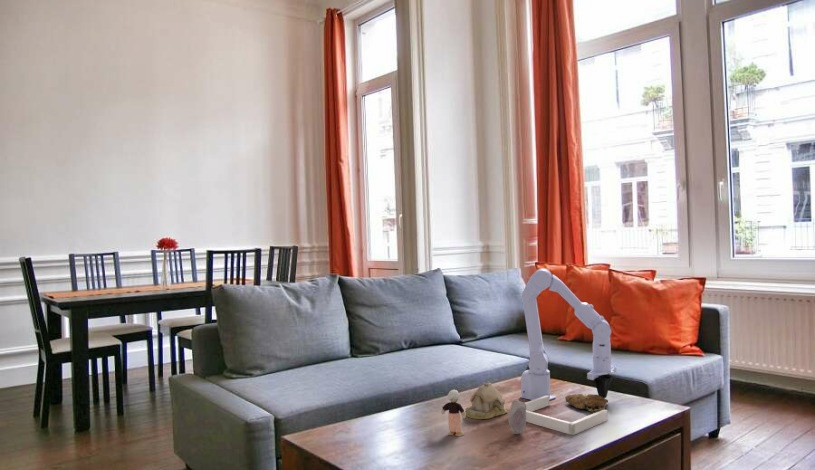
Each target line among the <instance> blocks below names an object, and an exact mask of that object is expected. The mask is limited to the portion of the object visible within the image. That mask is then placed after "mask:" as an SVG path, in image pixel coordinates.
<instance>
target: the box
mask: <svg viewBox="0 0 815 470" xmlns="http://www.w3.org/2000/svg"><path fill="white" fill-rule="evenodd" d="M524 403H525V404H526V423H530V424H534V425H536V426H541V427H543V428H546V429H551V430H554V431H557V432H560V433H564V434H567V435H570V436H574V435H576V434H579V433H581V432H584V431H586V430H588V429H590V428H593V427H595V426H598V425H600V424H603V423H605V422H607V421H608V420H609V416H608V415H609V410H608V409H606V408H605V409H604V410H601V411H599V412H596V413H592V414H589V415H587V416H584V417H582V418H579V419H577V420H574V421H572V422H570V421H567V420H563V419H559V418H555V417H554V416H553V417H552V416H548V415H544V414H541V413H538V412H535V411H537V410H540V409H544V408H546V407H548V406H550V400H549V396H543V397H540V398H537V399H534V400H529V401H526V402H525V401H524ZM510 409H511V406H510ZM510 409H509V410H510Z"/></svg>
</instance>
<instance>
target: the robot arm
mask: <svg viewBox="0 0 815 470" xmlns="http://www.w3.org/2000/svg"><path fill="white" fill-rule="evenodd" d="M546 289H548V291H551V292H555V293H558V294H559V295H560V296H561V297H562V299H564V300H565V301H566V302H567V303H568V304H569V305H570V306H571V307H572V308H573V309H574V316H576V318H578V319H579V321H581V322H582V323H583V325H585V327H587V329H589V330H591V332H592V335H593V336H592V337H593V339H592V340H593V341H592V368H591V370H590V371H589V372H587V373H586V375H587V376H586V379H587V380H589V381H590V380H591V381H592V382H593V383H594V385H595V388H596V391H597V395H599V396H601V397H603V398H605V399H607V396H608V392H609V388H610V385H611V383H612V381H613V380H614V374H615V373H617V366H616V365H612V349H611V348H612V346H611V335H612V329H611V326H610V323H609V322H608V321H607V320H606V319H605V317H604V316H603V315H600V314H599V313H598V312H597V311H596V310H595V309H594V305H593V304H591V303H590V304H589V303H588V302H582V301H581V300H580V299H579V298H578V297H577V296H576V294H575V293H574V292H573V291H571V289H570V288H569V287H568V286H567V285H566V284H565V283H564V282H563V281H562V280H561V279H559V277H558V276H556V275H555V274H552V272H551V271H550V270H549V269H548V268H538V269H537V270H536V271H534V272H533V274H532V275H530V277H529V279H528V281H527V283H526V285H525V286H524V288H523V291H522V293H521V298H522V304H523V311H524V312H523V313H524V319H525V325H526V332H527V338H528V346H529V349H528V350H529V361H528V369H527V370H526V369H525V370H524V371H523V372H522V374H521V377H520V393H521V394H520V395H519V397H520V398H522V399H526V400H529V401H531V400H534V399H537V398H540V397H543V396H549V401H551V400H553V399H556V398H557V397H556V396H555V395H551V373H550V372H551V371H550V370H549V369H548V367H549V366H548V364H549V358H550V357H549V356H548V354H547V352H546V350H545V345H544V342H543V336H542V335H543V334H542V329H541V322H540V315H539V307H538V301H537V297H538V296H539V295H540V294H541V292H543V291H545V290H546Z"/></svg>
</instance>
